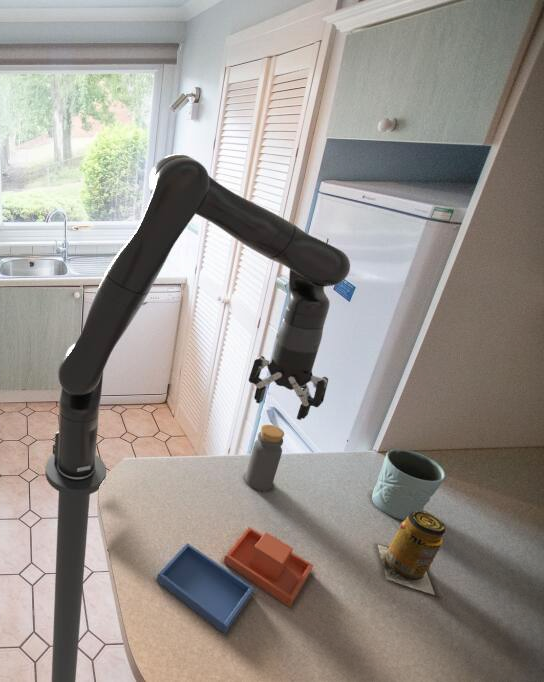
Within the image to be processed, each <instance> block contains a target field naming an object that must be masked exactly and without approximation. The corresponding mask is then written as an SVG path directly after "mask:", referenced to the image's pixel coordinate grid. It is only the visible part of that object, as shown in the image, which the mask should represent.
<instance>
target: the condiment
mask: <svg viewBox="0 0 544 682" xmlns="http://www.w3.org/2000/svg"><path fill="white" fill-rule="evenodd" d="M446 530H447V529H446V525H445V523H443V521H442V520H441V519H439V518H438V517H437V516H435V515H433V514H431V513H429V512H426V511H424V510H423V511H413V512H411V513H410V514H409V516H408V517H407V519H406V520H402V522H401V523H400V525H399V527H398V530H397V531H396V534H395V536H394V538H393V540H392V542H391V543H390V545H389V547H386V546H383V545H380V544H377V548H378V549H377V550H378V553H379V556H380V560H381V563H382V567H383V571H384V574H385V578H386V580H388V581H391V582H393V583H397V584H400V585H401V586H406V587H408V588H411V589H413V590H418V591H421V592H423V593H427V594H430V595H433V596H435V595H436V594H435V591H434V589H433V585H432V583H431V580H430V577H429V575H428V572H427V571H428V569H429V568H430V566H431V565H432V563H433V562H434V559H435V558H436V556H437V554H438V552H439V551H440V549H441V546H442V544H443V538H444V535H445V533H446Z"/></svg>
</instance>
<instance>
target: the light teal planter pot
mask: <svg viewBox="0 0 544 682" xmlns="http://www.w3.org/2000/svg"><path fill="white" fill-rule="evenodd" d="M377 478H378V479H377V481H376V484H375V487H374V489H373V491H372V495H371V500H372V502H373V504H374V505H375V506H376V508H378V509H379V510H380V511H382V512H383V513H384V514H387V515H388V516H390V517H393V518H395V519H398V520H402V521H405V520H406V519H407V517H408V516H409V514H410V513H411V512H413V511H423V512H424V509H425V506H426V505H427V504H428V503H429V502H430V500H431V497H433V496H434V494H435V493H437V490H438V489H439V488H440V486H441V485H442V484H443V482H444V481H445V479H446V472H445V470H444V469H443V468H442V466H441V465H440V464H439V463H437V462H436V461H435V460H433V459H432V458H429V457H428V456H426V455H423V454H421V453H419V452H416V451H413V450H409V449H402V448H394V449H391V450H388V451H387V452H386V454H385V457H384V460H383V463H382V467H381V470H380V472H379V476H378V477H377Z"/></svg>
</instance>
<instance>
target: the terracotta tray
mask: <svg viewBox="0 0 544 682" xmlns="http://www.w3.org/2000/svg"><path fill="white" fill-rule="evenodd" d="M263 535H264V534H262V533H260V532H258V531H257V530H255V529H253V528H252V527H250V526H248V527H247V528H246V529H245V531H243V533H242V534H241V536H240V537H239V538H238V539H237V541H236V542H235V543H234V544H233V545H232V547H231V548H230V549H229V550H228V552H227V553H226V554H225V556H224V560H223V563H224V564H225V565H227V566H228V567H229V568H231V569H233V570H234V571H236V572H237V573H238V574H240V575H242V576H243V577H245V578H246V579H247V580H249V581H250V582H252V583H254V584H255V585H256V586H258V587H259V588H260V589H263V590H264V591H265V592H267V593H268V594H270V595H271V596H273V597H274V598H275V599H277V600H278V601H280V602H282V603H283V604H285V605H286V606H288V607H289V608H291V606H292V604H293V603H294V602H295V599H296V598H297V596H298V595H299V593H300V591H301V589H302V588H303V586H304V585H305V583H306V581H307V579H308V578H309V576H310V574H311V572H312V570H313V568H314V564H313V563H310V562H309V561H307V560H306V559H304V558H302V557H301V556H299V555H297V554H295V553H294V552H293V551H292V552H291V555H290V558H289V561H288V563H287V566H286V568H285V569H284V571H283V572H282V574H281V575H280V577H279V578H278V580H277V581H276V582H274V581H273V580H271V579H270V578H268V577H267V576H265V575H264V574H262V573H261V572H259V571H258V570H256V569H254V568H253V567H251V566H250V565H249V563H250V560H251V557H252V553H253V550H254V547H255V545H256V544H257V543H258V541H259V540H260V539H261V538H262V536H263Z"/></svg>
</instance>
